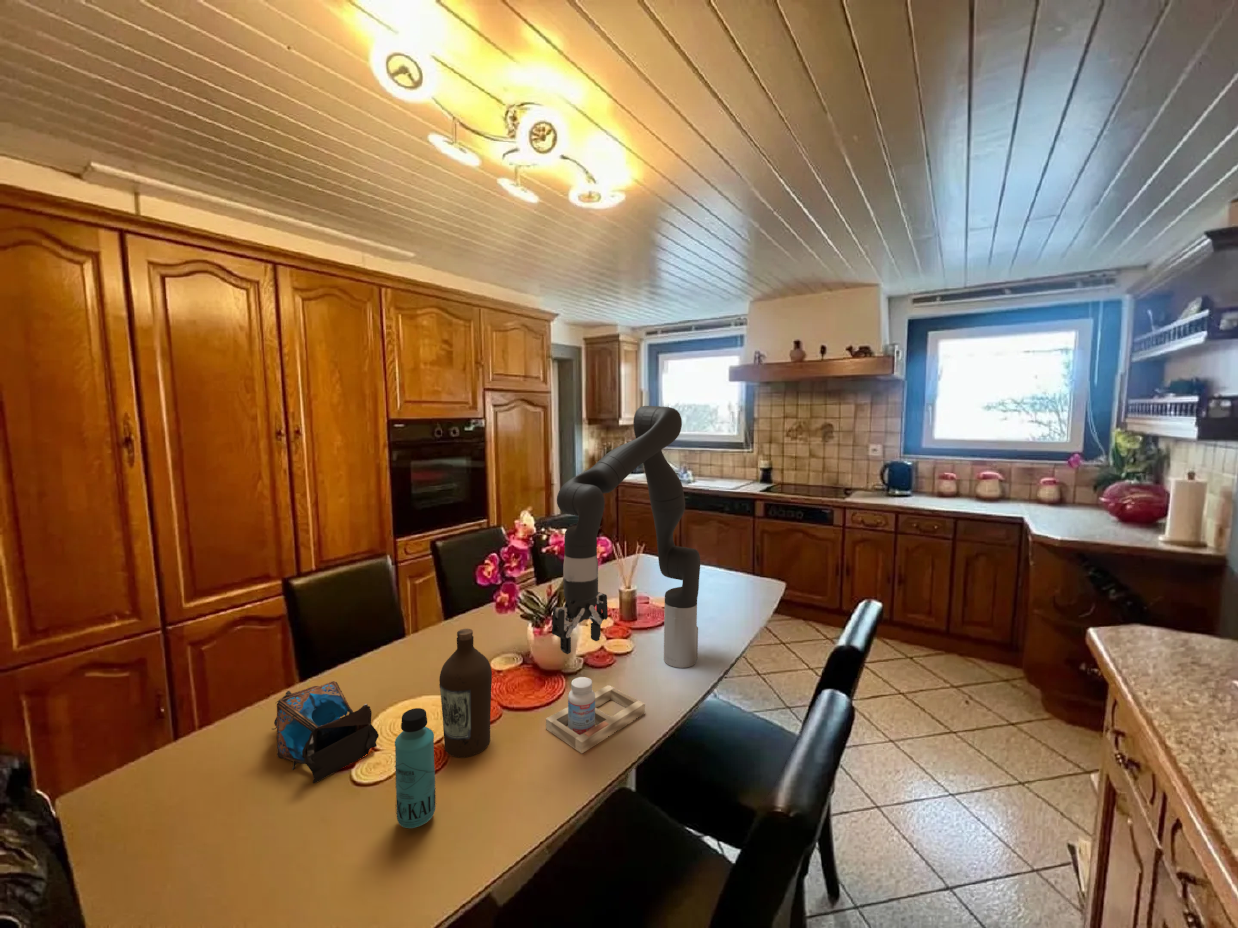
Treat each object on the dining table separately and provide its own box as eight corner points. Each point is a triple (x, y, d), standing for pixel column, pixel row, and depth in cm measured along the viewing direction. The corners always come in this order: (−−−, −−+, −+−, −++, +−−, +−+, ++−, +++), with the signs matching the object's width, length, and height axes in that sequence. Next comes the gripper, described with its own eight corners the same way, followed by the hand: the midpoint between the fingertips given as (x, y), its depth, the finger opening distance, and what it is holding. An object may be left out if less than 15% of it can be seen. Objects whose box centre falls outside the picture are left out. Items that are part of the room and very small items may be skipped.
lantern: (352, 797, 103) (289, 747, 116) (400, 714, 110) (335, 676, 123) (284, 786, 91) (223, 732, 104) (342, 694, 98) (278, 654, 112)
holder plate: (608, 694, 129) (608, 684, 129) (644, 713, 121) (644, 702, 121) (545, 729, 115) (545, 717, 115) (581, 753, 107) (581, 741, 106)
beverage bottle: (403, 809, 91) (399, 703, 89) (441, 807, 92) (438, 701, 90) (390, 839, 85) (385, 725, 83) (431, 836, 86) (428, 723, 84)
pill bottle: (573, 741, 111) (572, 691, 110) (564, 725, 116) (564, 678, 115) (599, 734, 113) (599, 686, 112) (589, 719, 119) (589, 673, 118)
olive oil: (461, 724, 116) (458, 618, 114) (502, 733, 113) (500, 624, 111) (430, 754, 106) (427, 638, 104) (474, 765, 103) (472, 645, 101)
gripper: (592, 564, 119) (592, 631, 120) (543, 578, 109) (544, 651, 110) (616, 571, 114) (615, 641, 115) (567, 586, 103) (567, 663, 105)
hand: (581, 646), depth 113 cm, fingers open, 8 cm apart
